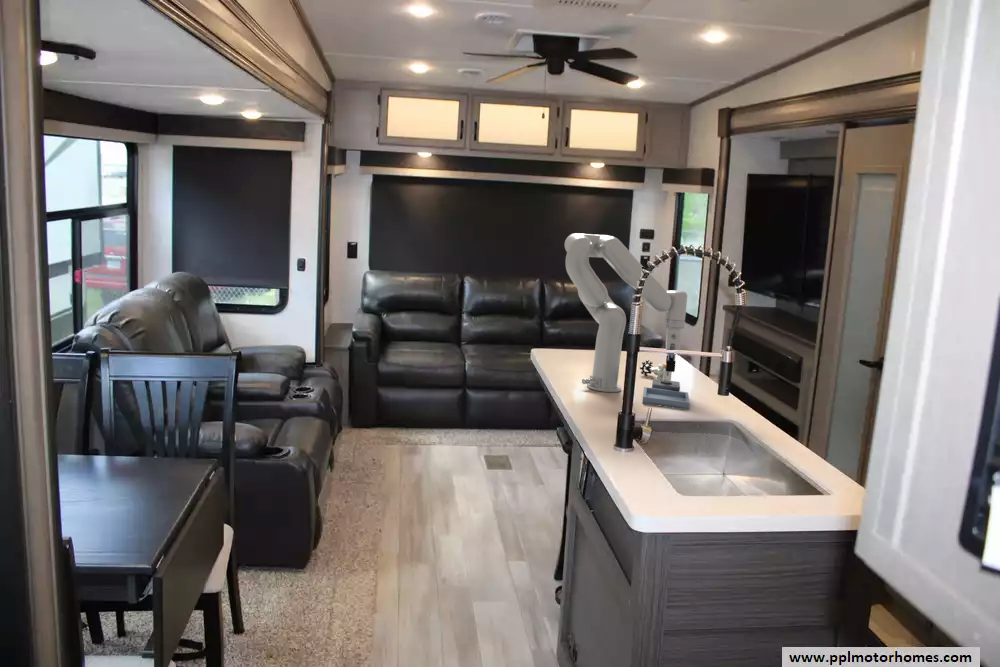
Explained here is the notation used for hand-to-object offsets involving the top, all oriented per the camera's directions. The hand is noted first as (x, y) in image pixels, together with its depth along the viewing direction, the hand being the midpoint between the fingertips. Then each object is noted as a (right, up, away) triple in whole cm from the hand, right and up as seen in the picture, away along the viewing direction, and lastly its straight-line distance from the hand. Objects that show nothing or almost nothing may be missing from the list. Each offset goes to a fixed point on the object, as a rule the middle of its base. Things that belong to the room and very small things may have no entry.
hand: (670, 368), depth 314 cm
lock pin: (-2, -9, +1) cm, 9 cm away
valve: (-1, -5, +24) cm, 24 cm away
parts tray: (-4, -11, -13) cm, 18 cm away
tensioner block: (-2, -9, +1) cm, 9 cm away
